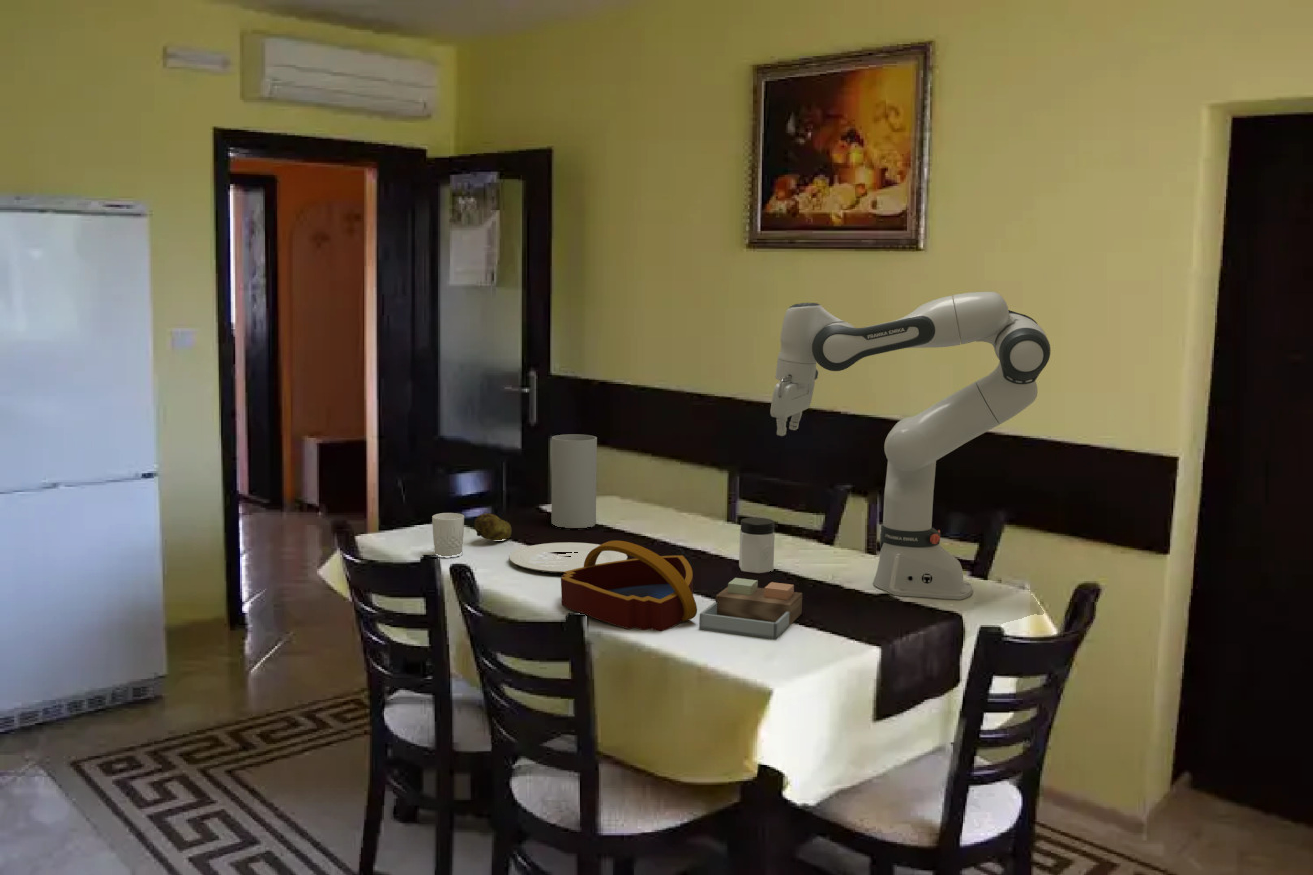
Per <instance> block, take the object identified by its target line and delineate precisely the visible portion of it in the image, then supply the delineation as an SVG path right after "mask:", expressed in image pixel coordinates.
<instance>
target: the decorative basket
mask: <svg viewBox="0 0 1313 875" xmlns="http://www.w3.org/2000/svg"><path fill="white" fill-rule="evenodd" d="M599 545H600V546H598V547H596V548H595V549H593V550H592V551H590V552H589V554H588V555H587V557H586V559H585V562H584V567H582V568H577V569H573V570H569V571H565V572H564V573H563V574H562V577H560V585H561V586H560V589H561V590H560V591H561V592H560V593H561V605H562V606H563V607H565V608H567V609H569V610H572V611H573V612H574V611H575V612H577V613H580V614H584V613H585V614H584V615H586V616H589V617H591V618H594V619H596V620H599V621H601V622H606V623H608V624H612V625H614V626H618V627H621V628H624V629H627V630H630V629H633V628H635V629H640V630H642V631H646V630H652V631H657V632H663V631H667V630H669V629H671V628H673V627H675V626H677V625H678V624H680V623H684V622H687V621H690V620H692V619H694V618H695V617H696V615H697V613H698V607H697V602H696V600H695V596H694V580H693V576H694V575H693V573H694V572H693V568H692V566H691V564H690V563H689V561H688V560H687V558H685V556H684V555H662V556H661V555H659V554H658V553H656V552H654V551H652V550H650V549H648V548H645V547H644V546H642V545H639V544H635V543H633V542H629V541H624V540H609V541H606V542H604V543H601V544H599ZM602 551H616V552H620V553H624V554H626V555H627V556H629V557H633V558H628V559H627V560H621V561H614V562H608V563H602V564H596V560H597V558H598V556H599V555H600V553H601V552H602ZM595 564H596V565H595Z"/></svg>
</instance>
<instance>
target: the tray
mask: <svg viewBox="0 0 1313 875" xmlns="http://www.w3.org/2000/svg"><path fill="white" fill-rule="evenodd" d="M698 620H699V621H698V622H699V623H698V625H699V626H698V629H699V630H702V631H711V632H716V633H717V632H718V633H725V634H733V635H740V636H747V637H753V638H762V639H767V640H775V641H777V640H778V639H779V638H780V637H781V636H782V635H783V633H785V631H787V630H788V628H789V627H790V626H789V612H786V613H785V614H783V615H782V616H781V617H780V618H779V619H778V620H777V621H776V622H770V621H762V620H754V619H747V618H739V617H732V616H724V615H717V602H716V601H714V602H713V603H712V604H710V605H709V606H707V607H706V608H705V609H704V610H703V611H701V612H700V613H699V619H698Z"/></svg>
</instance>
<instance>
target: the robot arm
mask: <svg viewBox="0 0 1313 875" xmlns="http://www.w3.org/2000/svg"><path fill="white" fill-rule="evenodd" d="M781 325H782V327H781V331H780V337H779V339H780V340H779V341H780V350H779V353H778V356H777V361H776V367H775V368H776V369H775V376H774V378H775V379H776V380H778V381H780V382H778V383H776V385H775V386H774V390H773V393H772V398H771V404H770V405H771V406H770V416H771V417H772V418H776V419H775V420H776V435H777V436H780V437H783V436H785V435H787V422H788V418H790V417H791V419H790V421H789V425H788V426H789V427H788V429H789V430H791V431H797V430H798V429H799V424H800V421H801V418H802V415H803V411H806V410H807V409H809V408H810V405H811V404H812V399H813V393H814V389H815V384H816V381H817V379H818V378H819V370H818V369H817V364H818V365H819V366H820V367H821V368H823V369H824V370H827V371H830V372H841V371H844V370H846V369H849V368H850V367H852V366H853V365H854V364H856V363H857V362H859V361H860V360H862V359H864V358H867V357H870V356H874V355H879V354H885V353H889V352H893V351H897V350H903V349H909V348H910V349H912V348H913V349H914V348H915V349H917V348H919V349H921V348H922V349H923V348H924V349H925V348H927V349H929V348H930V349H931V348H932V349H933V348H935V349H936V348H947V347H948V348H949V347H956V346H960V345H965V344H971V343H973V342H977V343H978V342H979V343H980V342H984V343H987V344H991V345H992V347H993V349H994V353H995V356H996V357H997V358H998V360H999V363H998V365H997V366H996V367H995V369H994V370H993V371H991V372H990V373H989V374H987V375H985V376H983V377H982V378H979V379H978V380H976V381H974V382H972V383H971V384H969V385H966V386H964V387H963V388H961V389H958V390H957V391H956V392H954V393H951V395H948V396H947V397H945V398H943V399H941V400H939V401H938V402H936V403H935V404H933V405H931V406H930V407H928V408H926V409H924V410H922V411H921V412H920V413H918V414H916V415H914V416H909V417H905V418H902V419H900V420H899V421H897V423H895V425H894V426H893V427H892V428H891V430H890V431H889V432H888V434H887V436H886V438H885V441H884V445H883V446H884V447H883V448H884V449H883V450H884V454H885V456H886V459H887V466H886V476H885V486H884V494H883V497H884V498H883V517H882V524H881V525H880V530H879V531H880V532H879V548H880V551H879V552H880V553H879V554H880V555H879V558H878V565H877V569H876V573H875V576H874V578H873V581H872V584H873V585H874V586H875V587H876V588H878V589H881V590H883V591H887V592H888V593H890V594H891V595H894V596H900V597H901V596H902V597H914V598H915V597H916V598H917V597H918V598H927V599H929V598H930V599H943V600H944V599H945V600H948V599H949V600H963V599H967V598H969V597H970V596H971V595H972V594H973V592H974V590H973V584H972V583H970V582H969V581H966V580H964V572H963V568H962V564H961V562H960V561H959V560H958V559H957V558H956V557H955V556H954V555H952V554H951V553H950V552H949V551H947V550H946V549H945V547H943V546H942V545H940V543H941V530H940V529H935V527H932V524H933V523H932V522H933V506H934V505H933V504H934V491H935V490H934V489H935V478H936V468H937V465H936V464H937V461H938V460H940V459H941V458H943V457H945V456H946V455H948V454H950V453H951V452H953V451H955V450H956V449H959V447H961V446H963V445H964V444H966V443H968V442H970V441H972V440H973V439H975V438H977V437H979V436H981V435H983V434H985V433H987V432H988V431H990V430H992V429H994V428H996V427H998V426H1000V425H1002V424H1003V423H1005V422H1007V421H1009V420H1010V419H1012V418H1014V417H1015V416H1016V415H1017V416H1018V414H1020V413H1021V412H1022V411H1024V410H1025V409H1027V408H1028V407H1029V406H1030V405H1032V404H1034V402H1035V401H1036V400H1037V397H1038V385H1037V382H1036V380H1037V379H1038V377H1039V376H1040V374H1041V373H1042V371H1043V370H1044V369H1045V367H1046V366H1047V364H1048V362H1049V360H1050V358H1051V344H1050V341H1049V339H1048V337H1047V334H1046V332H1045V330H1044V329H1043V328H1042V327H1041V326H1040V325H1039V324H1038V322H1037V321H1036V320H1035V319H1034V318H1032V317H1030V316H1028V315H1026V314H1023V313H1019V312H1016V311H1013V310H1010V309H1009V307H1008V304H1007V301H1006V300H1005V299H1004V297H1003V296H1002V295H1001V294H999V293H998V292H995V291H977V292H976V291H973V292H963V293H958V294H951V295H947V296H943V297H939V298H935V299H934V300H930V301H928V302H926V303H923V304H920V306H918V307H917V308H915V309H914V310H913V311H911V312H910V313H909V314H907V315H905V316H903V317H901V318H898V319H896V320H891V321H886V322H882V323H879V324H873V325H869V326H864V327H855V326H854V325H852V324H851V323H849V322H847V321H845V320H842V319H840V318H838V317H836V316H835V315H833V314H832V313H830V312H829V311H828V310H827V309H825V308H824V307H823V305H822V304H821V303H818V302H801V303H795V304H792V305H791V306H789V307H788V308H787V310H786V311H785V313H784V317H783V320H782V324H781Z"/></svg>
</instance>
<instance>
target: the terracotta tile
mask: <svg viewBox="0 0 1313 875" xmlns="http://www.w3.org/2000/svg"><path fill="white" fill-rule="evenodd" d="M763 588H764V597H768V598H776V599H784V600H788V599H789V598H790V597H791V596H792V595H793V594H794V592H795V589H794V588H795V585H794V584H789V583H783V582H781V583H779V582H774V581H771V582H770V583H768V584H767V585H766V586H764V587H763Z"/></svg>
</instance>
